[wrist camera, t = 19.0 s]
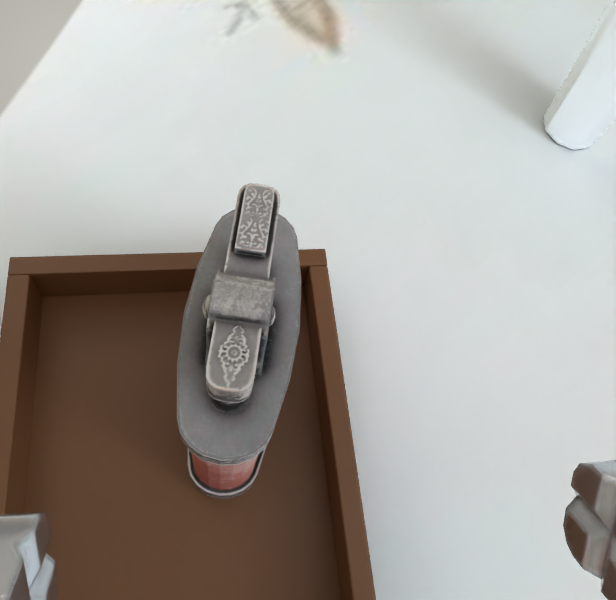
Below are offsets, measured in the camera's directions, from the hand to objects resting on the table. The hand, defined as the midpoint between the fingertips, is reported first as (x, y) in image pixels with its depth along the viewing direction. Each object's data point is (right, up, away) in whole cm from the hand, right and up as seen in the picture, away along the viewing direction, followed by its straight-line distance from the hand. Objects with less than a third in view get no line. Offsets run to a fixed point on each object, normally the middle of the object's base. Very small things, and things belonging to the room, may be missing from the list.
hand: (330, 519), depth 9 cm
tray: (-5, -4, +13) cm, 15 cm away
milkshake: (+15, +13, +25) cm, 32 cm away
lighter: (-3, -1, +15) cm, 15 cm away
